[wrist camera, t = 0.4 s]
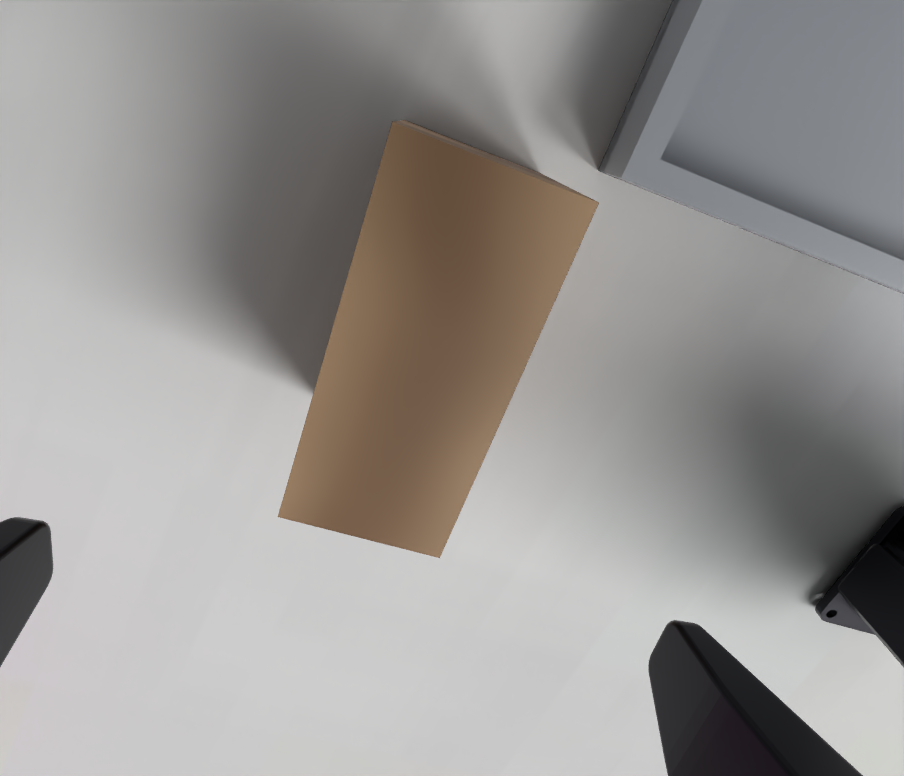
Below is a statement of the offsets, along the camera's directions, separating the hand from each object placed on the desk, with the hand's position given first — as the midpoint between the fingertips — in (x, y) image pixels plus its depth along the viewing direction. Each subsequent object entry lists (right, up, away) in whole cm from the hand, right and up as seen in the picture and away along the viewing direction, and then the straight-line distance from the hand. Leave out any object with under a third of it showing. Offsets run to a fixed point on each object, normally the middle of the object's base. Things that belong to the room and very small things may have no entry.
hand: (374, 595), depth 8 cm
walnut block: (0, +6, +11) cm, 13 cm away
